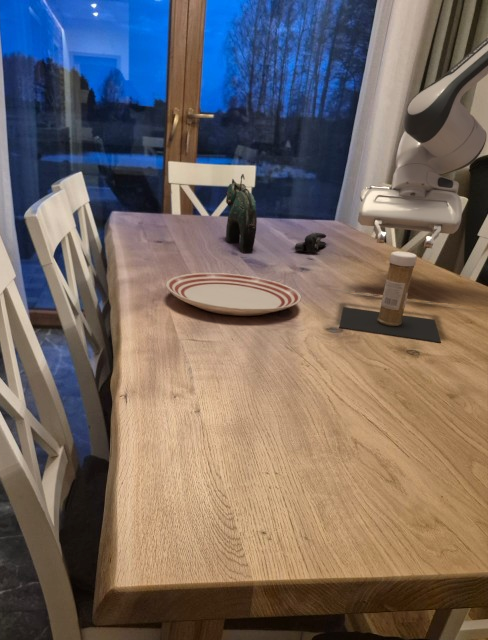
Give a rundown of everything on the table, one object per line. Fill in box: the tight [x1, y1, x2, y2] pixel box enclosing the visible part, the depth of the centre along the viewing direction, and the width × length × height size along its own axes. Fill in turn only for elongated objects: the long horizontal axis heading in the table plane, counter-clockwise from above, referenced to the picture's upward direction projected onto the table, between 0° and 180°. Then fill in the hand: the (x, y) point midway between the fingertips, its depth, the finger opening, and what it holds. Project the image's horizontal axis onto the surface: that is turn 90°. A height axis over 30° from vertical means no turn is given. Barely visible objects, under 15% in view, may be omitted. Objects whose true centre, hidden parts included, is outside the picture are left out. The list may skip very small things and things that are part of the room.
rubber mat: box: [338, 306, 442, 344], centre depth 111 cm, size 18×14×1 cm
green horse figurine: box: [225, 173, 258, 254], centre depth 166 cm, size 20×6×20 cm, turn 11°
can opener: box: [294, 231, 327, 254], centre depth 171 cm, size 18×7×6 cm, turn 148°
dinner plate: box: [165, 272, 302, 317], centre depth 117 cm, size 28×27×3 cm
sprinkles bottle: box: [378, 250, 418, 326], centre depth 108 cm, size 5×5×13 cm
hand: (404, 243), depth 118 cm, fingers open, 8 cm apart
